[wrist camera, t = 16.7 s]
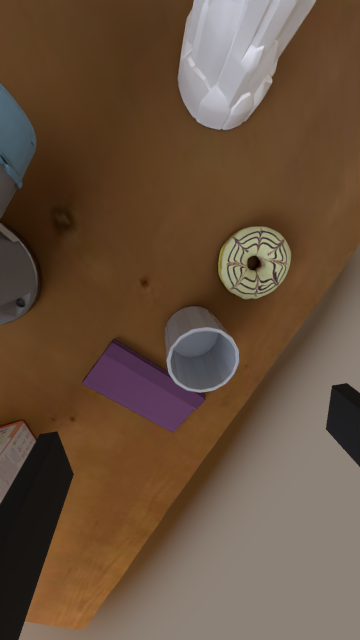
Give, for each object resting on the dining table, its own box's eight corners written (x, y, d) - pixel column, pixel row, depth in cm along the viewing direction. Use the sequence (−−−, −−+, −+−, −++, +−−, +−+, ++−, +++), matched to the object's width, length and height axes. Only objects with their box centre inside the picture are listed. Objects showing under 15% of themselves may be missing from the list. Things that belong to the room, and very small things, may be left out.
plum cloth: (173, 429, 46) (173, 434, 45) (82, 381, 41) (80, 385, 40) (204, 394, 44) (206, 398, 43) (114, 338, 39) (112, 341, 38)
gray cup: (169, 361, 41) (172, 397, 32) (160, 310, 38) (162, 334, 29) (221, 353, 42) (240, 386, 32) (217, 302, 39) (237, 322, 29)
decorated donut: (276, 294, 39) (288, 299, 36) (214, 295, 38) (220, 301, 35) (286, 227, 36) (300, 226, 32) (217, 227, 35) (224, 226, 31)
